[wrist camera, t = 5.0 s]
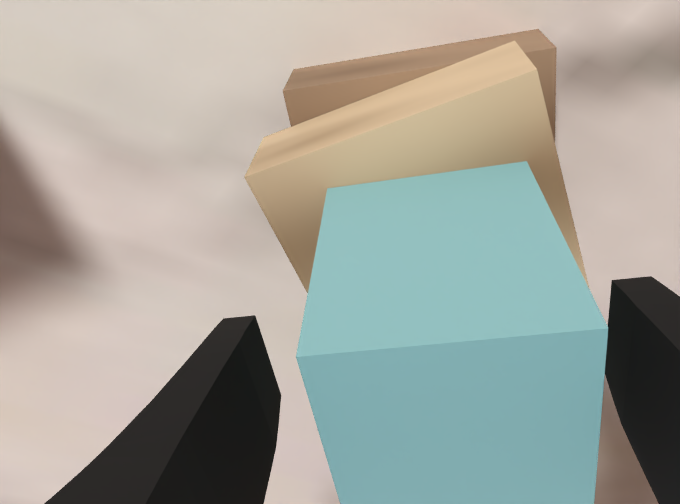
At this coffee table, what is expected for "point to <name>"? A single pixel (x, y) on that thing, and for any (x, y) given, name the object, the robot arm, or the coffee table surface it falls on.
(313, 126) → the oak slab
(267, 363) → the robot arm
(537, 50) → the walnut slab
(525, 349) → the teal block
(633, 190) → the coffee table surface
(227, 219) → the coffee table surface
